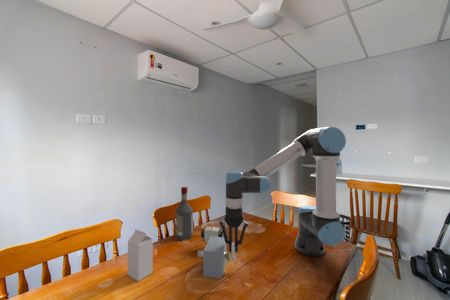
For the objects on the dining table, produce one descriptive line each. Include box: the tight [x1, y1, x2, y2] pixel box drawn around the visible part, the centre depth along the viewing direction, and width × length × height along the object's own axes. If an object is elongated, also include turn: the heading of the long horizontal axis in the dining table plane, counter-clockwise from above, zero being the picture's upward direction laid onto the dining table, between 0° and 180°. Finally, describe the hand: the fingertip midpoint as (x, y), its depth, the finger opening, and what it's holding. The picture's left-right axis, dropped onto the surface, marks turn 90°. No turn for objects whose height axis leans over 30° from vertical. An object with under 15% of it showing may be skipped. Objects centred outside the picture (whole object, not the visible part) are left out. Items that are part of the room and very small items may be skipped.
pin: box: [196, 249, 233, 263], centre depth 94 cm, size 16×5×5 cm, turn 81°
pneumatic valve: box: [200, 226, 224, 243], centre depth 112 cm, size 6×12×12 cm, turn 79°
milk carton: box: [127, 228, 154, 282], centre depth 89 cm, size 7×7×19 cm
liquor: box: [174, 186, 194, 241], centre depth 125 cm, size 9×9×30 cm
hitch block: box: [202, 237, 228, 279], centre depth 94 cm, size 8×14×11 cm, turn 171°
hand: (233, 258), depth 93 cm, fingers closed
